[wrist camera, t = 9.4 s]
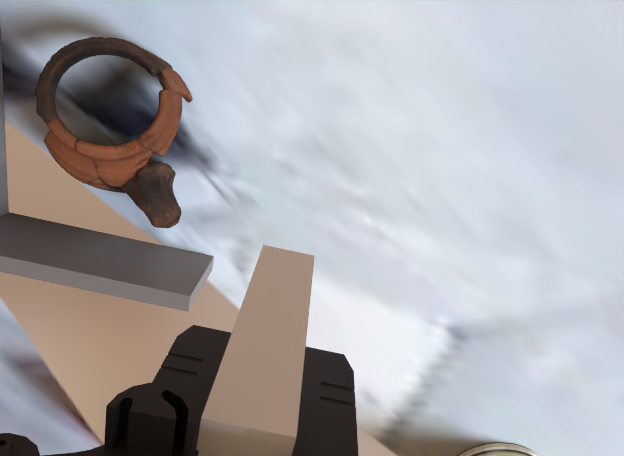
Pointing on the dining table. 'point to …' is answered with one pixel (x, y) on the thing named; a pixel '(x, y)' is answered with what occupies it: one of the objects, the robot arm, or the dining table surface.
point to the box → (95, 255)
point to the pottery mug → (123, 157)
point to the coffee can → (499, 450)
